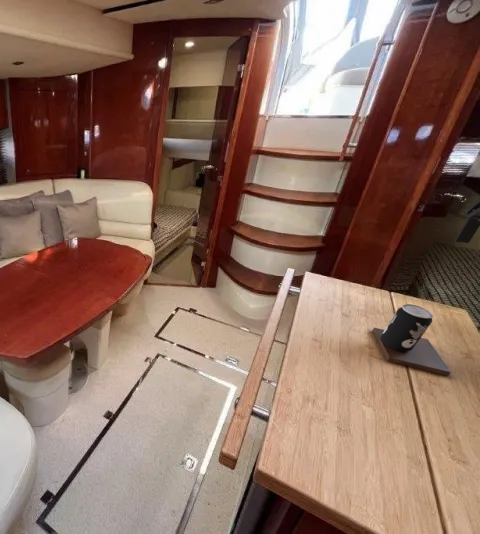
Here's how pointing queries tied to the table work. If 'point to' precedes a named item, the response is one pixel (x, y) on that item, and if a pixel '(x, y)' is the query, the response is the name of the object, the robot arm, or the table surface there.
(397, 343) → the beverage can
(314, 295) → the table surface
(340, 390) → the table surface
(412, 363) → the walnut board
